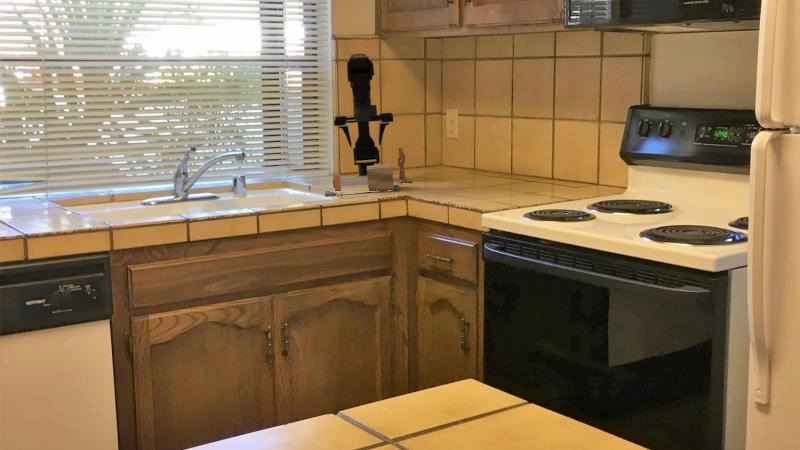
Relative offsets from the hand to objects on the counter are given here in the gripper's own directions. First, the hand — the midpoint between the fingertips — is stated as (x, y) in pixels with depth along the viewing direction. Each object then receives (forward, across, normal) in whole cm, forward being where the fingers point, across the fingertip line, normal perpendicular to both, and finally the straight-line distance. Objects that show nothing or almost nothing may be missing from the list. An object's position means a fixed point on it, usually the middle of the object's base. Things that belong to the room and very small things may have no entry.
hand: (365, 146), depth 290 cm
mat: (+15, -2, +2) cm, 15 cm away
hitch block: (+15, +4, +2) cm, 15 cm away
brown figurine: (+15, +12, +18) cm, 27 cm away
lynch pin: (+14, -3, +2) cm, 14 cm away
